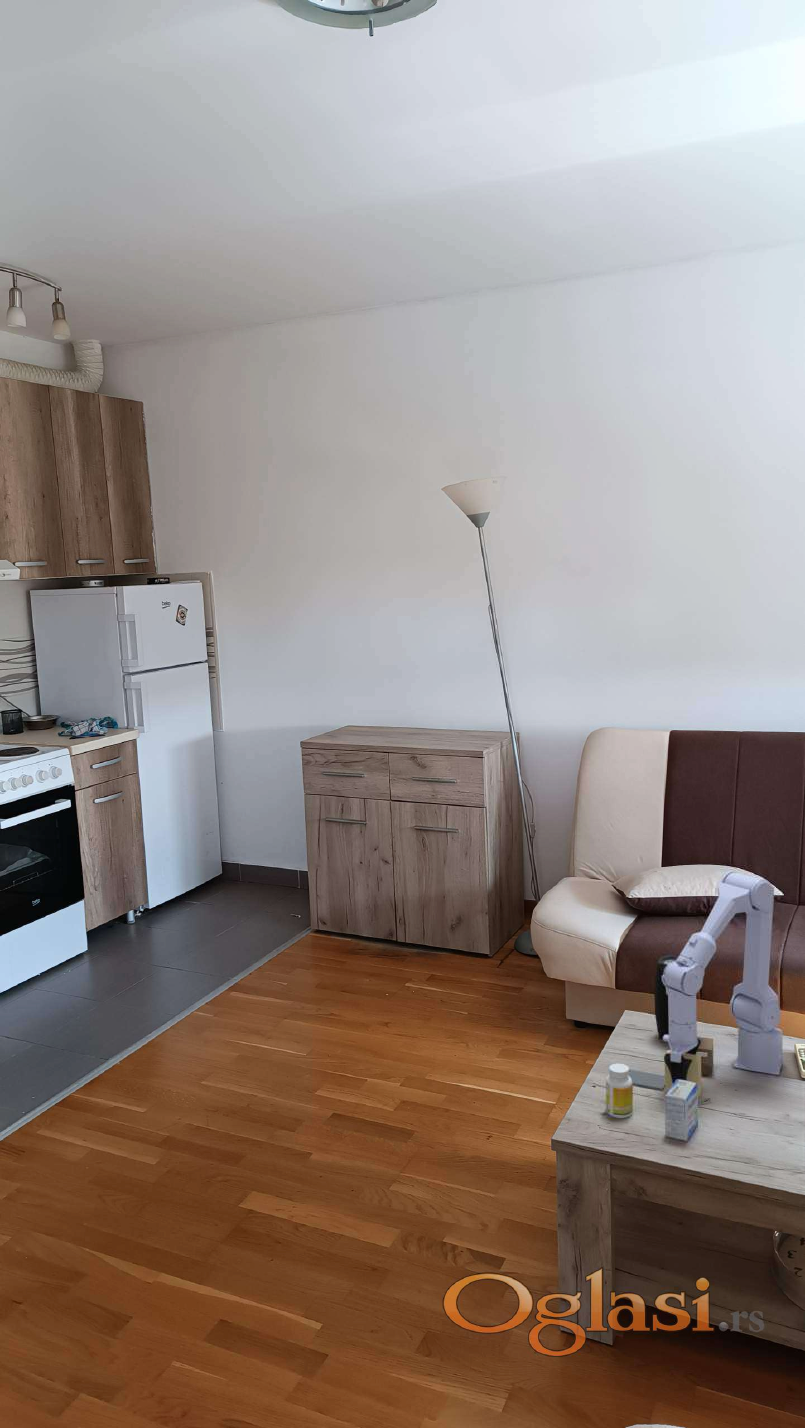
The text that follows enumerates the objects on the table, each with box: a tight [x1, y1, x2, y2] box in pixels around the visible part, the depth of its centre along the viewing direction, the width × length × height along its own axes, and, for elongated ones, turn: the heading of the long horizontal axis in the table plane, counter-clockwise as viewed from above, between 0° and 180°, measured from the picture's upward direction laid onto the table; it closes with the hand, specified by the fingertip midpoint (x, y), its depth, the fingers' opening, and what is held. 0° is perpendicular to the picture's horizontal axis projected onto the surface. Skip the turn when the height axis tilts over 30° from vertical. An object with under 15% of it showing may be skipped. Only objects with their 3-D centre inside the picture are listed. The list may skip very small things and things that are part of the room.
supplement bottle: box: [605, 1063, 634, 1119], centre depth 202 cm, size 5×5×10 cm
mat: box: [629, 1068, 665, 1092], centre depth 215 cm, size 9×6×1 cm, turn 63°
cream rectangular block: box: [664, 1049, 702, 1099], centre depth 210 cm, size 7×3×8 cm, turn 63°
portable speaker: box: [653, 954, 679, 1041], centre depth 234 cm, size 9×9×20 cm
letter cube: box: [696, 1036, 714, 1077], centre depth 220 cm, size 6×6×6 cm
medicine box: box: [664, 1079, 699, 1142], centre depth 194 cm, size 8×4×9 cm, turn 148°
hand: (683, 1080), depth 210 cm, fingers open, 7 cm apart
